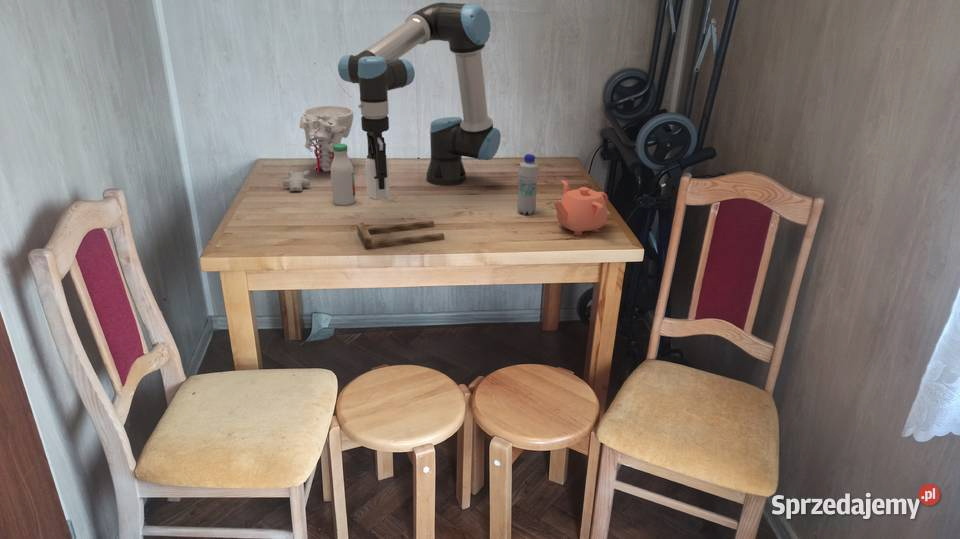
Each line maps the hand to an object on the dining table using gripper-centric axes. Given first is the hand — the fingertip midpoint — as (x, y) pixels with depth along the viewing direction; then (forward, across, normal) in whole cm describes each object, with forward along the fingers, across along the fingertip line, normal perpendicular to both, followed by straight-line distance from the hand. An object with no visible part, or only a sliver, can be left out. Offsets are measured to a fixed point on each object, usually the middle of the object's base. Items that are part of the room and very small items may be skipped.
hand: (378, 194), depth 187 cm
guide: (+14, 0, +7) cm, 16 cm away
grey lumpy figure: (+14, -56, -18) cm, 61 cm away
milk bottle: (+14, -35, -5) cm, 38 cm away
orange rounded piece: (+14, +10, +61) cm, 63 cm away
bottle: (+14, -7, +51) cm, 53 cm away
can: (+1, 0, 0) cm, 1 cm away
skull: (+14, -70, -4) cm, 72 cm away
